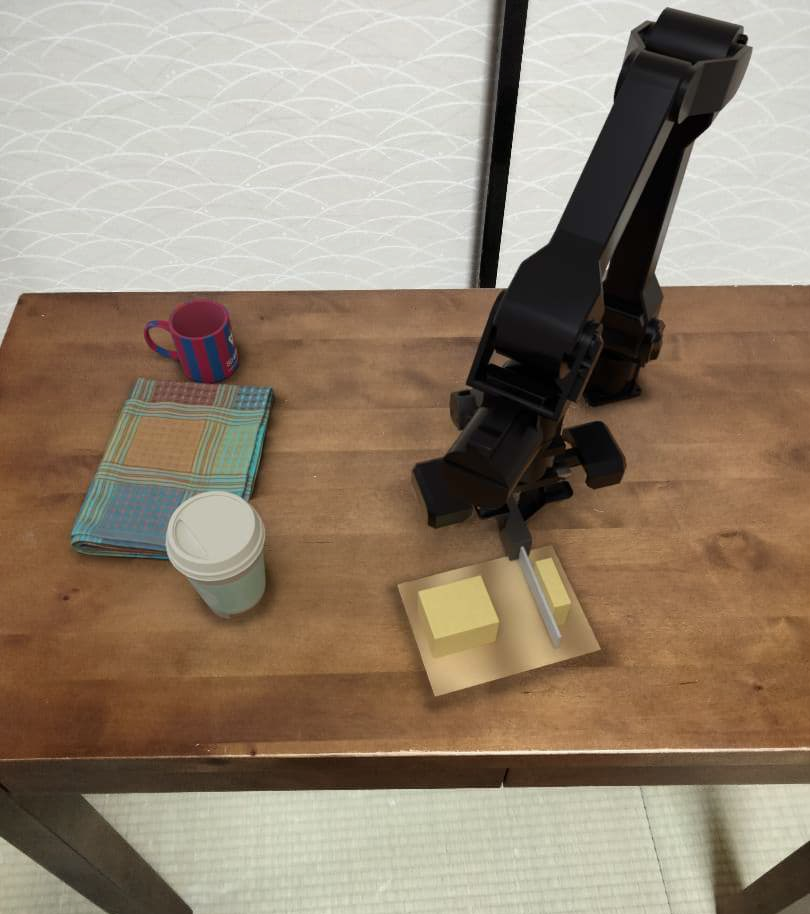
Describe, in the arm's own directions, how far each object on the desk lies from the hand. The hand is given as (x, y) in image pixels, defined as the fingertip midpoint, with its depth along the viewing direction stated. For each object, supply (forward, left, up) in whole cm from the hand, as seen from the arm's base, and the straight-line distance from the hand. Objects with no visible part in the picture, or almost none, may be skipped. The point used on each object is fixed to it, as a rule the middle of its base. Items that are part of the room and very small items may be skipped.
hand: (508, 524), depth 80 cm
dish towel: (+30, -18, -3) cm, 36 cm away
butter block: (+8, +9, -1) cm, 12 cm away
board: (+4, +9, -3) cm, 10 cm away
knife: (0, +5, -1) cm, 5 cm away
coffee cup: (+27, -2, -3) cm, 28 cm away
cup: (+26, -34, -3) cm, 43 cm away
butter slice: (-1, +9, -1) cm, 9 cm away
